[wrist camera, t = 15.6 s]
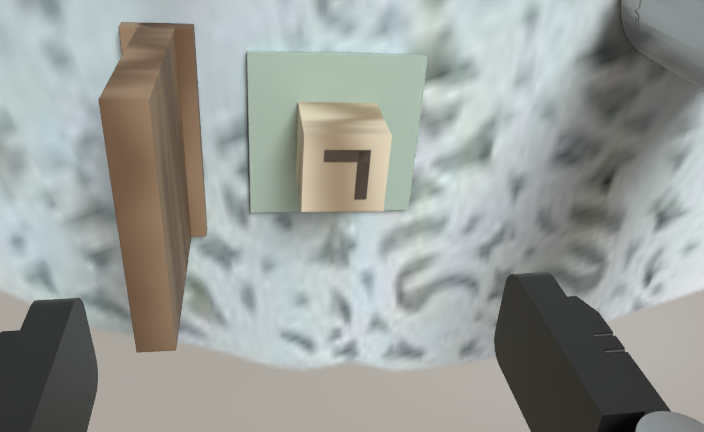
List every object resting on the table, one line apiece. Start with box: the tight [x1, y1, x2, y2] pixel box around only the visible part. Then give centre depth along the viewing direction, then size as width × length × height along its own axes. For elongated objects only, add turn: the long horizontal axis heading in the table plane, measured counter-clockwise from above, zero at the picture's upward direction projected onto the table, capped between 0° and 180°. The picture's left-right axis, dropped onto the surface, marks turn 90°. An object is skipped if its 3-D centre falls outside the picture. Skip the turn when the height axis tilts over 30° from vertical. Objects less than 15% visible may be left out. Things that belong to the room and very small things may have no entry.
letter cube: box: [296, 102, 392, 212], centre depth 39 cm, size 5×5×5 cm
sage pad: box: [247, 51, 428, 213], centre depth 41 cm, size 11×11×1 cm
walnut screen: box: [99, 22, 207, 352], centre depth 35 cm, size 4×14×12 cm, turn 176°
